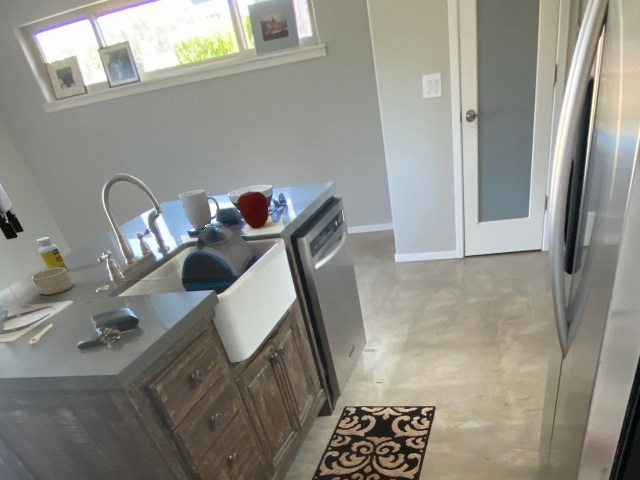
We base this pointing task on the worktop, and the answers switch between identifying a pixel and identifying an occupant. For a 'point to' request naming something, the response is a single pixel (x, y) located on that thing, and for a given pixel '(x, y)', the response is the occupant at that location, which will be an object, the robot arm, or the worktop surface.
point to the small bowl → (52, 281)
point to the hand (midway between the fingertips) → (15, 234)
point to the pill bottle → (50, 254)
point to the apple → (253, 208)
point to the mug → (197, 208)
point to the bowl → (264, 189)
